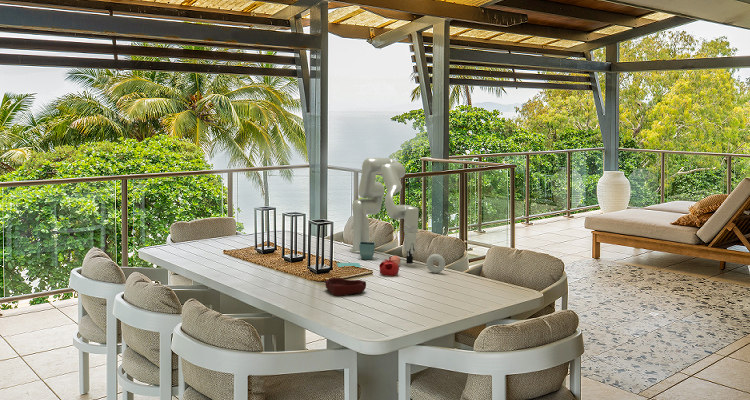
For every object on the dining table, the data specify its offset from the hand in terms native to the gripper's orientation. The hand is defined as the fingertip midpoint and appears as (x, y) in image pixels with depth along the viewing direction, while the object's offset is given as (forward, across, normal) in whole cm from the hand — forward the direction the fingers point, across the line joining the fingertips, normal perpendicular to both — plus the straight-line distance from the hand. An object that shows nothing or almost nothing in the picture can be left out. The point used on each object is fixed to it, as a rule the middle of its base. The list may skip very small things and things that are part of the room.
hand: (409, 263), depth 358 cm
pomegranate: (+2, +23, -15) cm, 27 cm away
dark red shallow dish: (+2, +60, -42) cm, 73 cm away
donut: (+2, +18, +10) cm, 21 cm away
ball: (-1, 0, -8) cm, 8 cm away
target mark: (+1, 0, -33) cm, 33 cm away
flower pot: (+2, -19, -21) cm, 28 cm away
